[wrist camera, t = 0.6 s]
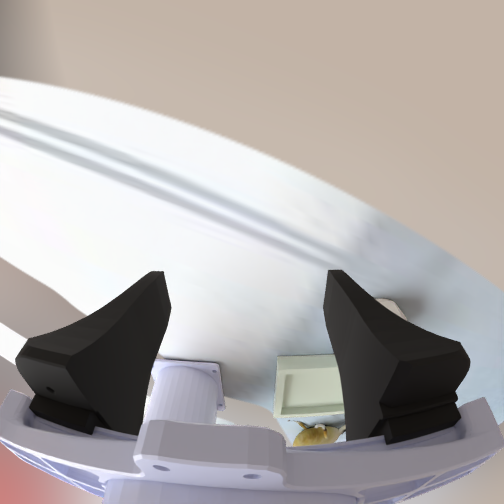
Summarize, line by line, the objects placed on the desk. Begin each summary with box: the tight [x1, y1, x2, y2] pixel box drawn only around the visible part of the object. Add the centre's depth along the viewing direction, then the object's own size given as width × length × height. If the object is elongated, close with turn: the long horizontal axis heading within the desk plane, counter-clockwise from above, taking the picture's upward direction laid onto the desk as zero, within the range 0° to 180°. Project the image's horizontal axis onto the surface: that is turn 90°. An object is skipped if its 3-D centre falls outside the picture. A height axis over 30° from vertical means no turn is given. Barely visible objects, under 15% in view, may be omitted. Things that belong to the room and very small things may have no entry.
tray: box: [273, 354, 345, 418], centre depth 30 cm, size 10×11×2 cm
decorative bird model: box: [288, 420, 346, 447], centre depth 35 cm, size 4×13×10 cm
